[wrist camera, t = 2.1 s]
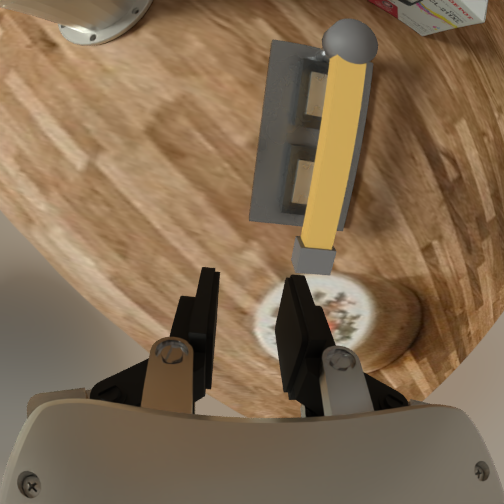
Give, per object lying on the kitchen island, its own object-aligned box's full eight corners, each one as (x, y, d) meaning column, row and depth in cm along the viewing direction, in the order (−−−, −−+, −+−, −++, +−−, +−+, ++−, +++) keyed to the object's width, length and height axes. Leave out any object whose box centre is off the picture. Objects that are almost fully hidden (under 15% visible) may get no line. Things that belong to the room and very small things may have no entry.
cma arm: (323, 20, 17) (332, 12, 15) (368, 33, 18) (379, 27, 16) (287, 258, 27) (291, 272, 25) (327, 262, 28) (334, 275, 25)
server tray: (271, 41, 24) (280, 22, 18) (369, 64, 25) (400, 55, 19) (248, 217, 33) (251, 244, 27) (340, 227, 34) (360, 255, 28)
